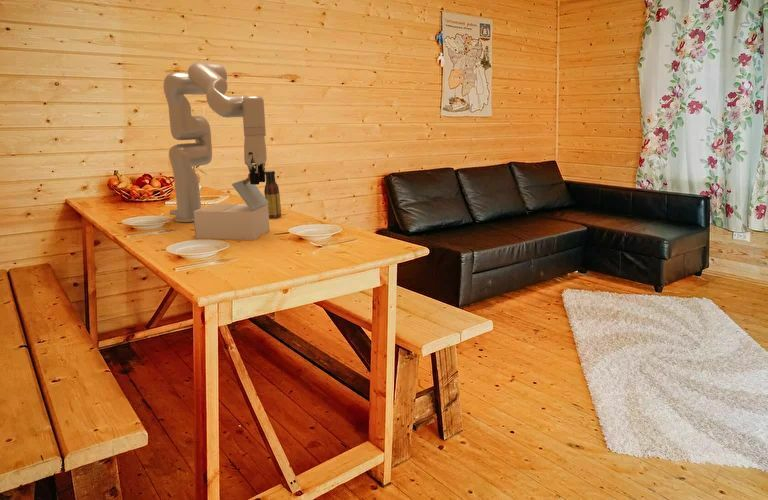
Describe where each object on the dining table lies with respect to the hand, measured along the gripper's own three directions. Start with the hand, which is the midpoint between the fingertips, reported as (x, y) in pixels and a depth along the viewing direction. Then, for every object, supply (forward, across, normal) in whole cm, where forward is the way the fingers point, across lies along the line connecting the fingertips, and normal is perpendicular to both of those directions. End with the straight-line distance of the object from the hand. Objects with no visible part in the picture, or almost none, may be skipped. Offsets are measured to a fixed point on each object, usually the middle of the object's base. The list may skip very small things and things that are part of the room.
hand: (258, 182), depth 207 cm
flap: (+4, 0, -3) cm, 6 cm away
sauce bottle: (+20, -32, -7) cm, 38 cm away
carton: (+20, 0, -11) cm, 22 cm away
